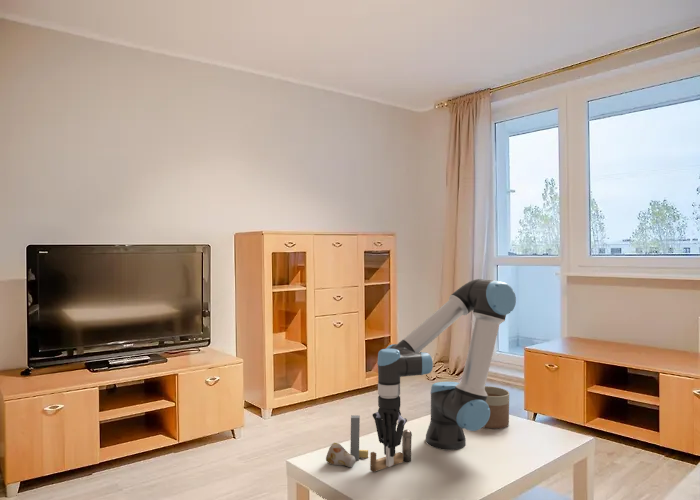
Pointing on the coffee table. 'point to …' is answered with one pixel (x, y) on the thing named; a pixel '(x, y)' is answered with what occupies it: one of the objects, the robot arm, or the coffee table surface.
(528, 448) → the coffee table surface
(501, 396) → the planter
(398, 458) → the gate
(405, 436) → the hinge post
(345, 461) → the white floral pitcher
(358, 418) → the post
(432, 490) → the coffee table surface
